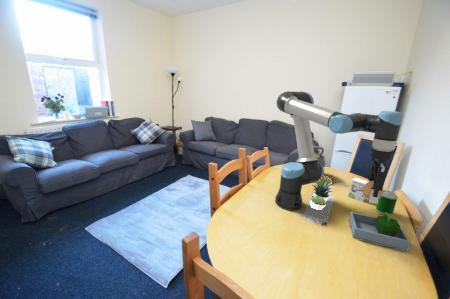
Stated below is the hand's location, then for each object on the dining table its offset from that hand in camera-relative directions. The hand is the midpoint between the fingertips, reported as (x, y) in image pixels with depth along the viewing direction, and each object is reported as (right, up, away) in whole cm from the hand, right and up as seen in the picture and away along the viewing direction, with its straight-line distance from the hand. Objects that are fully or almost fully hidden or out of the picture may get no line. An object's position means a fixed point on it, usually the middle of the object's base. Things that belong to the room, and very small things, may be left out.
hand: (370, 198), depth 92 cm
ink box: (+17, -8, +36) cm, 41 cm away
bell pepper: (+8, -17, +3) cm, 19 cm away
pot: (0, +2, +70) cm, 70 cm away
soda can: (+22, -13, +21) cm, 33 cm away
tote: (+5, -17, +4) cm, 18 cm away
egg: (0, 0, 0) cm, 0 cm away
